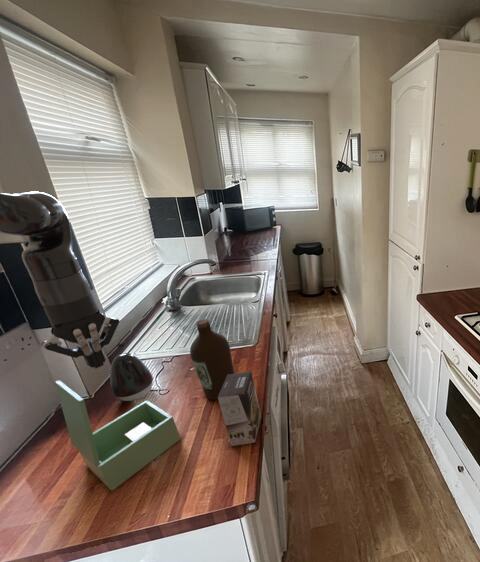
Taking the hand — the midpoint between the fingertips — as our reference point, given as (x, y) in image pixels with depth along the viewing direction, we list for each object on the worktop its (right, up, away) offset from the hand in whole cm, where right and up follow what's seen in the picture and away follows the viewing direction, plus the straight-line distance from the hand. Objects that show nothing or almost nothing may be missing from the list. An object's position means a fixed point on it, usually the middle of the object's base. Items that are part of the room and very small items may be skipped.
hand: (97, 365), depth 68 cm
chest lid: (-3, -12, -1) cm, 12 cm away
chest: (+1, -25, +10) cm, 27 cm away
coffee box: (+27, -22, +15) cm, 38 cm away
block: (+2, -23, +11) cm, 26 cm away
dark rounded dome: (-14, -17, +29) cm, 37 cm away
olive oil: (+12, -16, +30) cm, 37 cm away
